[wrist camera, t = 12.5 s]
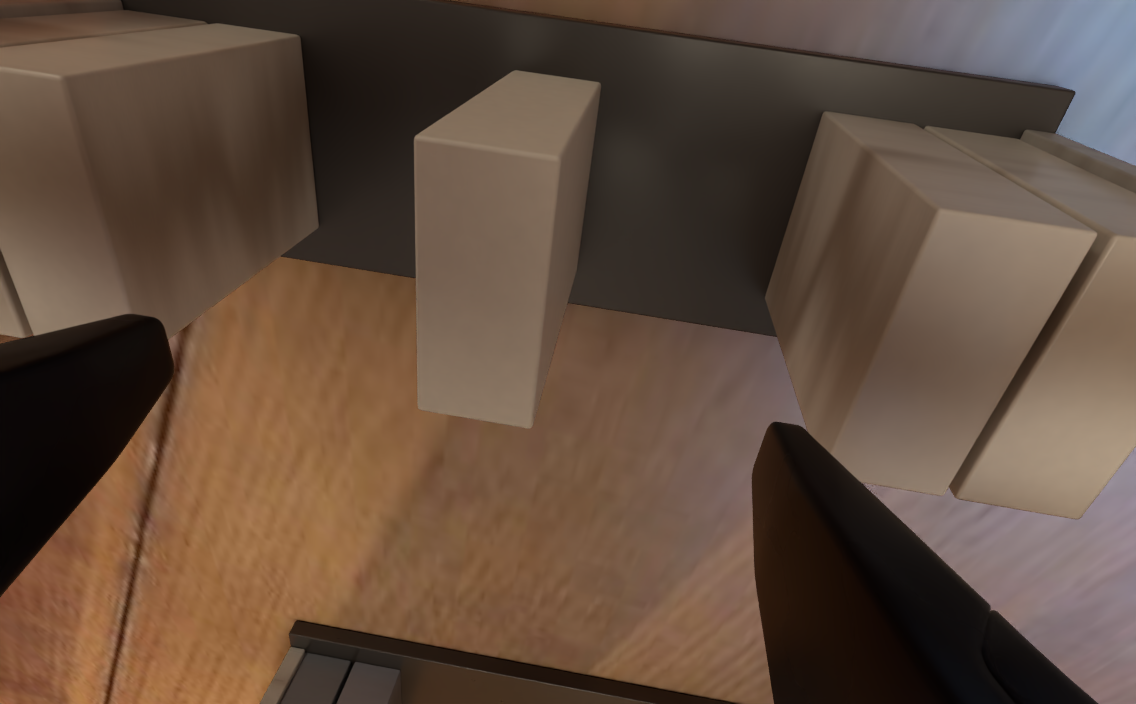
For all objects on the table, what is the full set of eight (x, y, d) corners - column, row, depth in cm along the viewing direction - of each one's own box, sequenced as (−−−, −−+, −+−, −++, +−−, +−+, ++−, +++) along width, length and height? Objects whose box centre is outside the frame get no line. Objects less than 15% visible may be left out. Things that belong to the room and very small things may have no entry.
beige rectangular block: (576, 271, 20) (531, 431, 13) (501, 259, 20) (416, 411, 13) (601, 82, 17) (560, 157, 10) (512, 69, 17) (411, 134, 10)
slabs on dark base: (929, 350, 20) (1087, 571, 13) (170, 228, 21) (-93, 365, 14) (1059, 86, 16) (1409, 184, 9) (106, -48, 17) (-317, -64, 10)
